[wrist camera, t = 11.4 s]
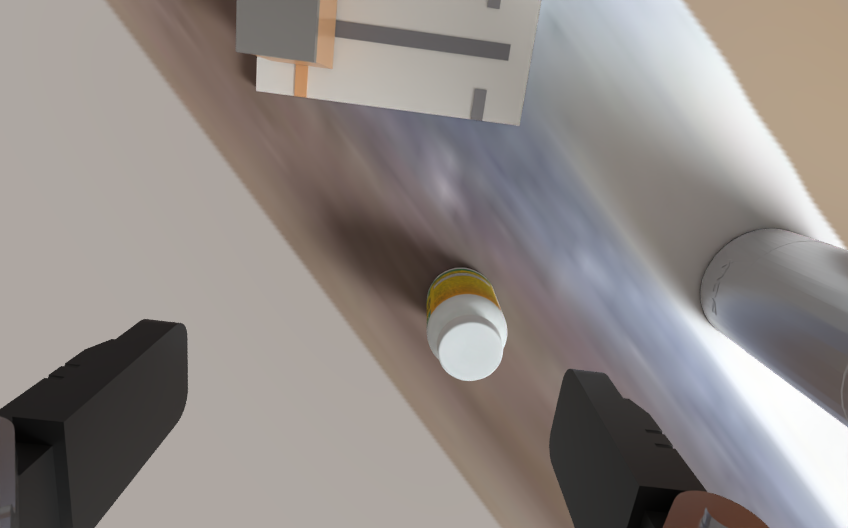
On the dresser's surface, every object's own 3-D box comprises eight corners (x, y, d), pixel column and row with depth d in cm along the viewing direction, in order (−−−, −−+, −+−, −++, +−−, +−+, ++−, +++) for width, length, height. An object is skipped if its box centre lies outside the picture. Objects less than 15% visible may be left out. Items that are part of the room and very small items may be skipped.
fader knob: (340, -17, 32) (320, -46, 26) (333, 70, 34) (313, 62, 28) (273, -26, 32) (237, -58, 26) (270, 62, 33) (235, 51, 27)
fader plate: (539, -15, 34) (545, -21, 32) (515, 125, 36) (519, 125, 35) (267, -54, 33) (260, -62, 32) (262, 91, 36) (255, 90, 34)
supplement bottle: (503, 315, 41) (526, 376, 31) (440, 338, 41) (444, 403, 32) (481, 255, 39) (498, 299, 30) (416, 278, 40) (413, 329, 31)
